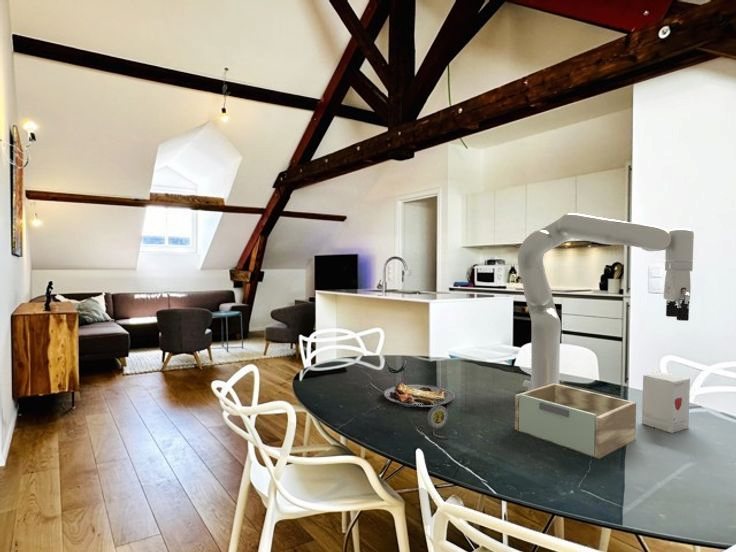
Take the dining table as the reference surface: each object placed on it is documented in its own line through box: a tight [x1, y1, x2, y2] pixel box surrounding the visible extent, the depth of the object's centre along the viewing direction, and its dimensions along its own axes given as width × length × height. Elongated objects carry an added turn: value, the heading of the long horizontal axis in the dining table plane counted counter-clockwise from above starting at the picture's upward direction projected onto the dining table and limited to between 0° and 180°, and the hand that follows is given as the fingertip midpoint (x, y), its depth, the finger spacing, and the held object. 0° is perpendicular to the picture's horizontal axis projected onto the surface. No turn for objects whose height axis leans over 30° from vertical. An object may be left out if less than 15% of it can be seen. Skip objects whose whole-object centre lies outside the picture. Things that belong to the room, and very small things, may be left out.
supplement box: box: [641, 371, 691, 434], centre depth 136 cm, size 9×9×15 cm
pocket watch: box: [427, 397, 458, 440], centre depth 130 cm, size 8×8×10 cm
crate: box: [514, 383, 637, 460], centre depth 127 cm, size 24×20×11 cm
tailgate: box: [519, 393, 597, 457], centre depth 121 cm, size 21×2×10 cm, turn 37°
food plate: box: [382, 382, 456, 408], centre depth 163 cm, size 25×23×4 cm
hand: (676, 318), depth 151 cm, fingers open, 9 cm apart
